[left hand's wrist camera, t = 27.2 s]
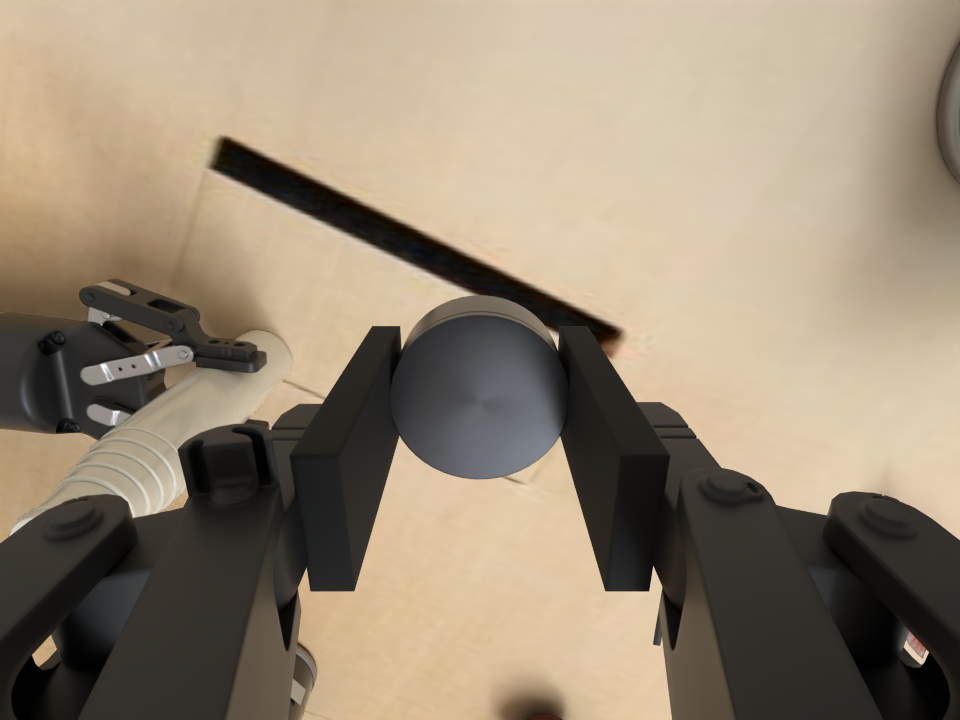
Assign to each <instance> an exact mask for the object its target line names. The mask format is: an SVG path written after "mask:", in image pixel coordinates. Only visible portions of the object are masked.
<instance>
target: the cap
mask: <svg viewBox="0 0 960 720" xmlns="http://www.w3.org/2000/svg"><path fill="white" fill-rule="evenodd" d="M569 387H570V384H569V380H568V376H567V372H566V370H565V367H564V365H563V363H562V360H561V358H560V355H559V353H558V350H557V348H556V345H555V343H554V340H553V338H552V337H551V335H550V333H549V331H548V330H547V329H546V327H545V326H544V325H543V323H542V322H541V321H540V320H539V319H538V318H537V317H536V316H535V315H533V314H532V313H531V312H529V311H528V310H527V309H525V308H523V307H522V306H520V305H518V304H516V303H514V302H511V301H508V300H506V299H502V298H498V297H492V296H468V297H461V298H458V299H454V300H451V301H448V302H446V303H444V304H441V305H440V306H438V307H436V308H435V309H433V310H431V311H430V312H429V313H428V314H426V315H425V316H424V317H423V318H422V319H421V320H420V321H419V322H418V323H417V324H416V325H415V327H414V328H413V329H412V331H411V332H410V334H409V336H408V338H407V340H406V342H405V344H404V346H403V349H402V351H401V354H400V356H399V359H398V361H397V364H396V366H395V369H394V372H393V374H392V377H391V382H390V393H391V407H392V420H393V422H394V425H395V427H396V430H397V432H398V433H399V435H400V437H401V439H402V440H403V441H404V443H405V444H406V445H407V447H408V448H409V449H410V450H411V451H412V452H413V453H414V454H415V455H416V456H417V457H418V458H420V459H421V460H422V461H424V462H425V463H427V464H428V465H430V466H431V467H433V468H435V469H437V470H439V471H442V472H444V473H447V474H450V475H453V476H457V477H462V478H469V479H491V478H498V477H502V476H507V475H510V474H513V473H515V472H518V471H520V470H522V469H524V468H526V467H528V466H530V465H531V464H533V463H534V462H536V461H538V460H539V459H540V458H541V457H542V456H543V455H545V454H546V453H547V452H548V451H549V449H550V448H551V447H552V446H553V445H554V444H555V442H556V441H557V439H558V438H559V436H560V435H561V433H562V431H563V429H564V427H565V424H566V421H567V416H568V402H569Z"/></svg>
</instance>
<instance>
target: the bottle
mask: <svg viewBox="0 0 960 720" xmlns="http://www.w3.org/2000/svg"><path fill="white" fill-rule="evenodd" d="M235 340H237V341H246V342H251V343H253V344H255V345H257V350H259V351H264V352H266V353H267V364H266V365H265V366H264V367H263V368H262V369H260V370H259V371H258V372H255V373H244V372H235V371H227V370H218V369H212V368H201V367H197V368H196V369H194V370H193V371H191V372H190V373H189V374H187V375H186V376H185V377H183V378H182V379H180V380H179V381H178V382H176V383H175V384H174V385H172V386H171V387H169V388H168V389H167V390H165V391H164V392H163V393H161V394H160V395H158V396H157V397H156V398H154V399H153V400H152V401H150V402H149V403H147V404H146V405H145V406H143V407H142V408H141V409H139V410H138V411H136V412H135V413H134V414H132V415H131V416H130V417H128V418H127V419H125V420H124V421H123V422H121V423H120V424H119V425H117V426H116V427H114V428H113V429H112V430H110V431H109V432H108V433H106V434H105V435H104V436H103V437H102V438H101V439H100V440H99V441H98V442H97V443H95V444H94V445H93V446H91V448H90V449H89V450H88V451H87V453H86V455H84V456H83V457H82V458H81V459H80V460H79V461H78V463H77V464H76V466H75V467H74V468H73V469H71V470H70V471H69V472H68V473H67V475H66V477H65V479H64V480H62V481H61V482H60V483H59V484H58V485H57V486H56V487H55V489H54V490H53V493H52V496H51V497H49V498H48V499H47V500H45V501H44V502H43V503H42V504H40V505H39V506H38V507H36V508H34V509H31V510H30V511H28V512H27V513H25V514H24V515H22V516H21V517H20V519H19V520H18V521H17V523H16V524H15V525H14V526H13V528H12V529H11V531H10V534H9V536H11V535H12V534H13V533H14V532H16V531H17V530H18V529H20V528H21V527H22V526H23V525H25V524H26V523H27V522H28V521H30V520H32V519H33V518H35V517H36V516H38V515H39V514H41V513H43V512H44V511H46V510H48V509H50V508H52V507H55V506H57V505H59V504H61V503H63V502H65V501H67V500H70V499H74V498H76V499H77V498H78V497H82V496H87V495H99V494H111V495H118V496H121V497H123V498H124V499H125V500H126V501H128V503H129V506H130V509H131V513H132V516H133V518H135V517H140V516H146V515H151V514H156V513H158V512H159V511H161V510H163V509H165V508H166V507H167V506H168V505H169V504H170V503H171V502H172V501H173V500H175V499H176V498H177V497H179V496H180V495H181V493H182V492H183V491H184V490H185V489H186V488H187V487H186V483H185V479H184V475H183V471H182V467H181V463H180V459H179V455H178V451H177V449H178V448H179V447H180V446H181V445H182V444H183V443H184V442H185V441H186V440H188V439H190V438H191V437H193V436H195V435H197V434H199V433H201V432H204V431H207V430H209V429H212V428H215V427H219V426H225V425H230V424H245V423H246V421H247V420H248V419H249V418H250V417H251V416H252V415H253V414H254V413H255V411H256V410H257V409H258V408H259V407H260V406H261V405H262V404H263V403H264V401H265V400H266V399H267V398H268V397H269V396H270V395H271V394H272V393H273V391H274V390H275V389H276V388H277V387H278V386H279V385H280V384H281V383H282V381H283V380H284V379H285V378H286V377H287V376H288V374H289V372H290V370H291V366H292V358H291V354H290V351H289V349H288V347H287V346H286V344H285V343H284V342H283V341H282V340H281V339H280V338H279V337H277V336H276V335H274V334H272V333H269V332H266V331H261V330H254V331H249V332H246V333H244V334H242V335H241V336H240V337H238V338H237V339H235Z"/></svg>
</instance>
